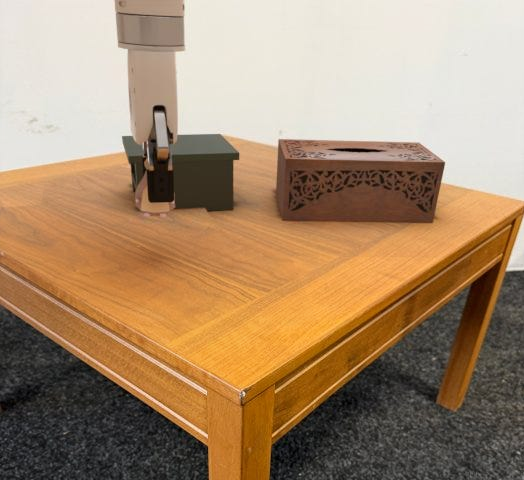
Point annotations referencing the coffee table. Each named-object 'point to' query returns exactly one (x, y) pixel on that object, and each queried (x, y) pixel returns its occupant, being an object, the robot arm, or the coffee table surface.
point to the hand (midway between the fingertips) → (158, 193)
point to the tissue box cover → (357, 181)
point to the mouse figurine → (144, 203)
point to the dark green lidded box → (194, 170)
